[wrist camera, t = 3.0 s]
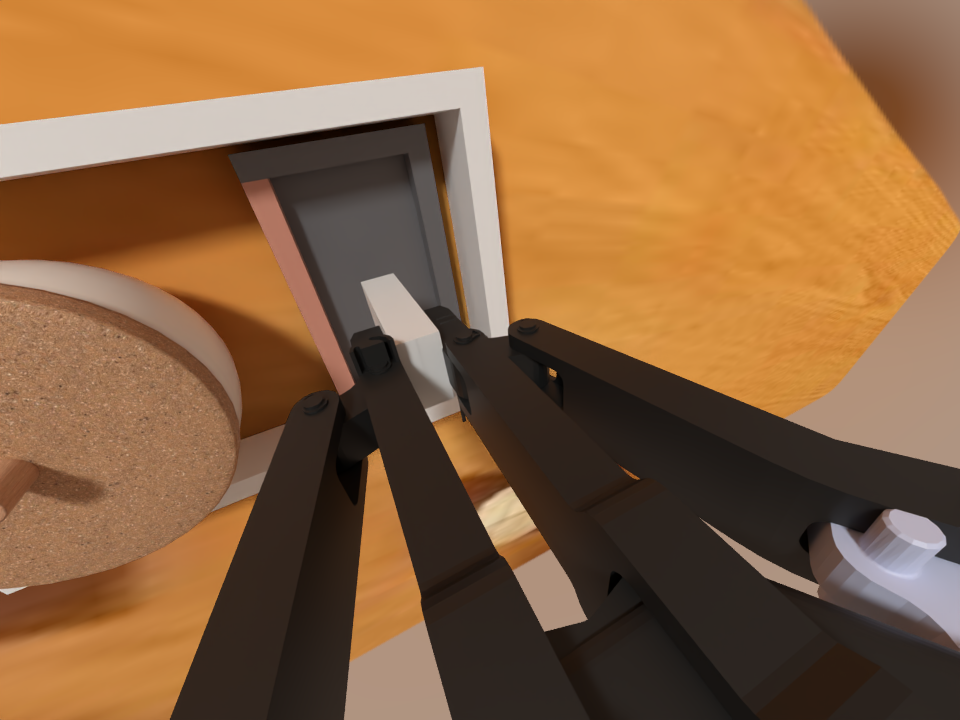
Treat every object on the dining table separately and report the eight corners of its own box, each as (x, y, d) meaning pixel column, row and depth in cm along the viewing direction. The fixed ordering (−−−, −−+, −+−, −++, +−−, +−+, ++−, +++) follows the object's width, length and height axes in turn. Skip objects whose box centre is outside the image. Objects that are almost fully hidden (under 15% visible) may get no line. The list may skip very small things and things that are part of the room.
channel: (49, 529, 19) (7, 594, 16) (-441, 194, 10) (-735, 212, 7) (492, 363, 26) (515, 388, 23) (452, 80, 17) (483, 66, 14)
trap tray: (344, 398, 22) (347, 412, 21) (233, 154, 15) (227, 154, 14) (461, 356, 24) (469, 366, 23) (415, 125, 17) (424, 123, 16)
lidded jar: (290, 300, 18) (287, 402, 11) (213, 458, 21) (167, 629, 13) (-40, 166, 12) (-557, 194, 5) (-99, 413, 14) (-511, 689, 7)
